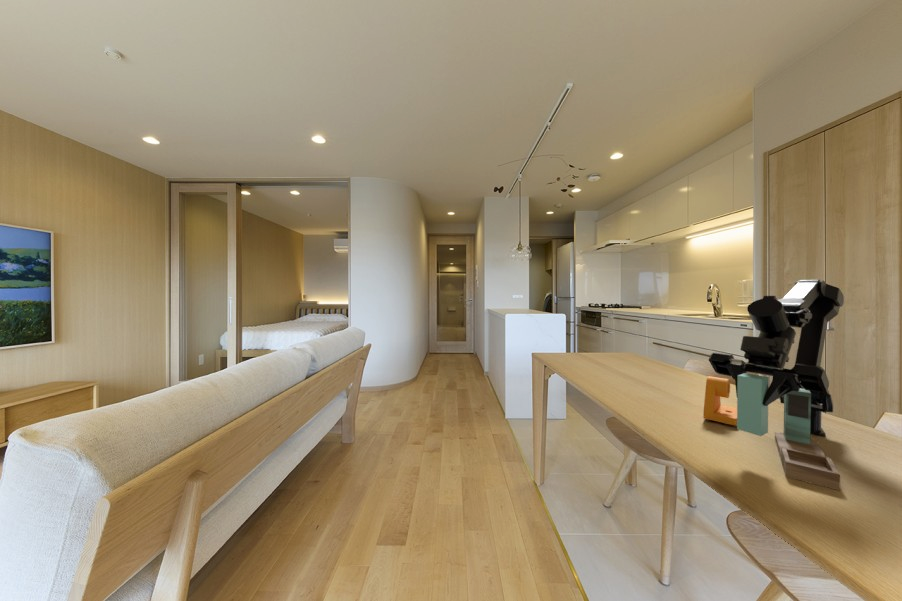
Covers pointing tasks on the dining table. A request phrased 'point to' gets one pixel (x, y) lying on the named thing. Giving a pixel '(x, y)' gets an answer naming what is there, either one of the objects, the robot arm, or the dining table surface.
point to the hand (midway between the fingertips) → (751, 401)
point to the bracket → (718, 401)
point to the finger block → (752, 404)
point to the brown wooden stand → (803, 444)
